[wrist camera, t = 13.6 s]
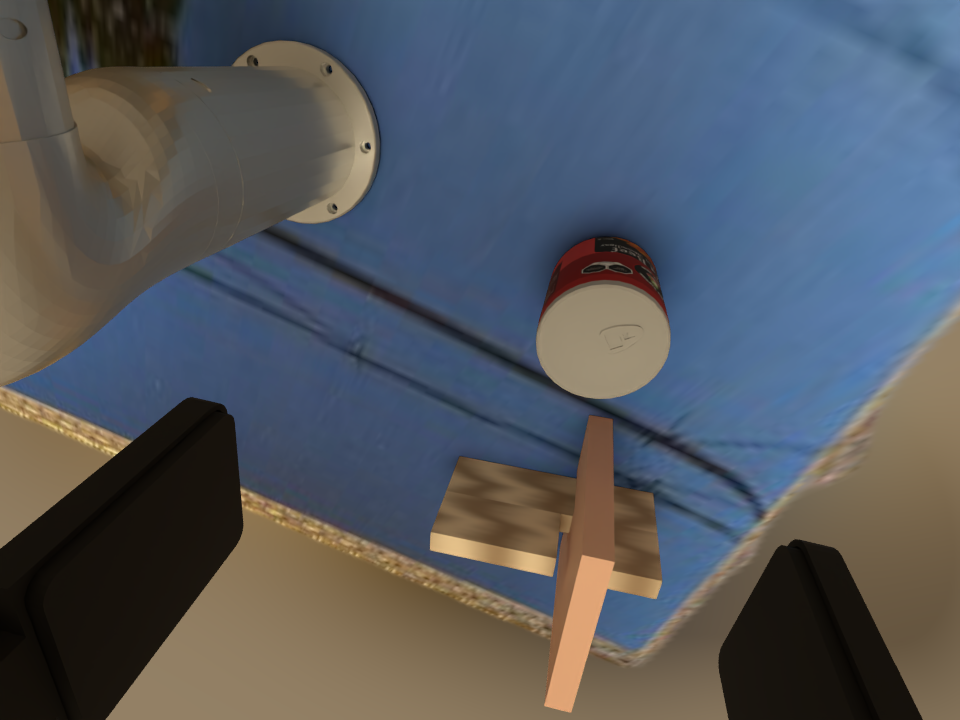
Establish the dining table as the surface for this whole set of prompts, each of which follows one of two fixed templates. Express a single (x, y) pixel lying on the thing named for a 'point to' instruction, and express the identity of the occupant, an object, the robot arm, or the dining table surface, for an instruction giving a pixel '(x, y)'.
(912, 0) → the dining table surface
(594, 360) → the canned food
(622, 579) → the oak board
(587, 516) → the terracotta plate
